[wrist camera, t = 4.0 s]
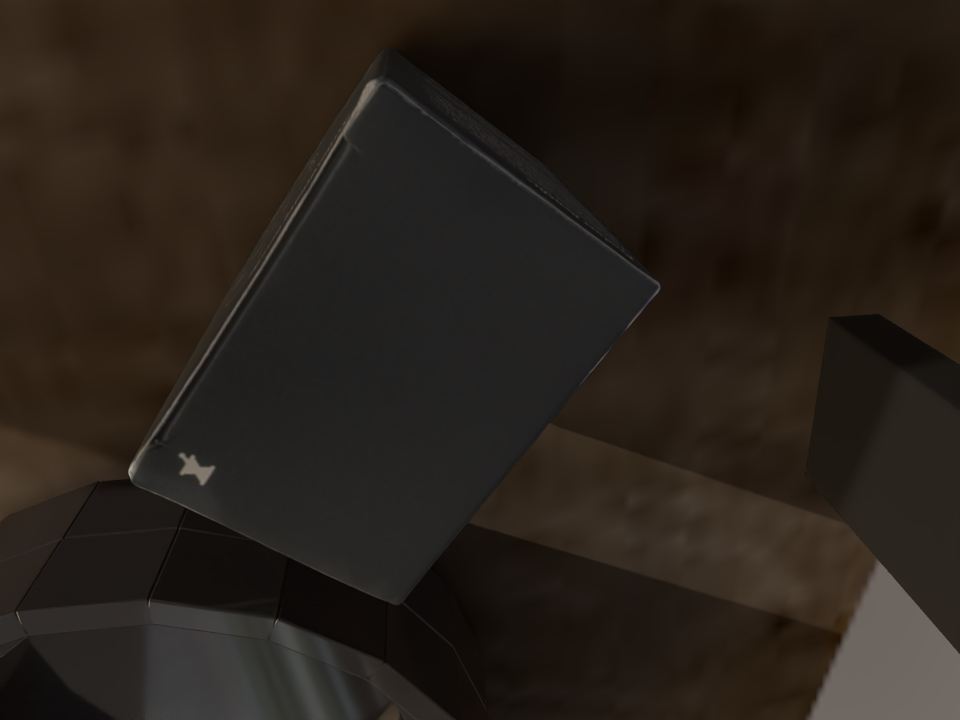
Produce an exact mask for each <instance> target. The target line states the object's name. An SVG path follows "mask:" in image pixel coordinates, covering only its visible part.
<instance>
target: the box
mask: <svg viewBox="0 0 960 720" xmlns="http://www.w3.org/2000/svg"><path fill="white" fill-rule="evenodd" d="M659 290H660V284H659V282H658V281H657V280H656V279H655V277H654V276H653V275H652V274H651V273H650V272H649V271H648V270H647V269H646V268H645V267H644V266H643V265H642V264H641V263H640V262H639V261H638V260H637V259H636V257H635V256H634V255H633V254H632V253H631V252H630V251H629V250H628V249H627V248H626V247H625V246H624V245H623V244H622V243H621V242H620V241H619V240H618V239H617V238H616V237H615V236H614V234H613V233H612V232H611V231H609V230H608V228H607V227H606V226H605V225H604V224H603V223H602V222H601V221H600V220H599V219H598V218H597V217H596V216H595V215H593V213H592V212H591V211H590V210H589V209H588V208H587V207H586V206H585V205H584V204H583V203H582V202H581V201H580V200H579V199H578V198H577V197H576V196H575V195H574V194H573V193H572V192H571V191H570V190H569V189H568V187H567V186H565V185H564V184H563V183H562V181H561V180H560V179H559V178H558V177H557V176H556V175H555V174H554V173H553V172H552V171H551V170H550V169H549V168H548V167H546V165H544V164H543V163H542V162H540V161H539V160H538V159H536V158H535V157H534V156H532V155H531V154H530V153H528V152H527V151H526V150H524V149H523V148H522V147H521V146H519V145H518V144H517V143H515V142H514V141H513V140H511V139H510V138H509V137H508V136H506V135H505V134H504V133H502V132H501V131H500V130H498V129H497V128H496V127H494V126H493V125H492V124H490V123H489V122H488V121H487V120H485V119H484V118H483V117H481V116H480V115H479V114H477V113H476V112H475V111H473V110H472V109H471V108H470V107H468V106H467V105H466V104H464V103H463V102H462V101H461V100H459V99H458V98H457V97H455V96H454V95H453V94H451V93H450V92H449V91H447V90H446V89H445V88H444V87H442V86H441V85H440V84H438V83H437V82H436V81H434V80H433V79H432V78H431V77H429V76H428V75H427V74H425V73H424V72H423V71H421V70H420V69H418V68H417V67H416V66H415V65H413V64H412V63H411V62H410V61H409V60H407V59H406V58H404V57H403V56H401V55H400V54H399V53H398V52H397V50H395V49H390V48H385V49H383V50H381V51H380V52H379V54H378V55H377V57H376V58H375V60H374V61H373V62H372V64H371V65H370V67H369V69H368V70H367V72H366V73H365V75H364V76H363V78H362V79H361V80H360V82H359V83H358V85H357V86H356V88H355V89H354V91H353V92H352V94H351V95H350V97H349V98H348V100H347V101H346V103H345V104H344V106H343V107H342V109H341V111H340V112H339V113H338V115H337V116H336V117H335V119H334V121H333V123H332V124H331V126H330V127H329V129H328V131H327V132H326V134H325V135H324V137H323V138H322V140H321V142H320V143H319V145H318V146H317V148H316V149H315V151H314V152H313V154H312V156H311V157H310V159H309V161H308V162H307V164H306V165H305V167H304V169H303V170H302V172H301V173H300V175H299V177H298V178H297V180H296V181H295V183H294V184H293V186H292V187H291V189H290V191H289V192H288V194H287V196H286V197H285V199H284V200H283V202H282V203H281V205H280V207H279V208H278V210H277V212H276V213H275V215H274V217H273V218H272V220H271V221H270V223H269V225H268V226H267V228H266V230H265V231H264V233H263V234H262V236H261V238H260V239H259V241H258V242H257V244H256V246H255V247H254V249H253V251H252V252H251V254H250V256H249V257H248V259H247V261H246V262H245V264H244V266H243V267H242V269H241V271H240V272H239V274H238V275H237V277H236V278H235V280H234V282H233V284H232V285H231V287H230V289H229V291H228V292H227V294H226V296H225V297H224V299H223V300H222V303H221V305H220V306H219V308H218V310H217V311H216V313H215V315H214V316H213V319H212V321H211V322H210V324H209V326H208V328H207V329H206V331H205V333H204V335H203V336H202V338H201V339H200V341H199V342H198V344H197V347H196V349H195V351H194V352H193V354H192V356H191V357H190V358H189V361H188V363H187V364H186V366H185V368H184V370H183V371H182V373H181V374H180V376H179V379H178V381H177V382H176V384H175V386H174V387H173V389H172V391H171V392H170V394H169V396H168V398H167V400H166V401H165V403H164V405H163V406H162V408H161V410H160V411H159V413H158V415H157V416H156V419H155V420H154V422H153V423H152V425H151V427H150V429H149V431H148V433H147V434H146V436H145V438H144V440H143V442H142V444H141V446H140V448H139V450H138V451H137V453H136V455H135V458H134V459H133V461H132V462H131V465H130V467H129V470H128V474H129V476H130V478H131V482H132V483H133V484H134V485H136V486H138V487H140V488H143V489H145V490H148V491H150V492H152V493H154V494H157V495H159V496H162V497H164V498H166V499H169V500H171V501H173V502H175V503H178V504H180V505H182V506H184V507H186V508H188V509H190V510H192V511H194V512H196V513H199V514H201V515H203V516H205V517H207V518H209V519H211V520H214V521H216V522H218V523H220V524H222V525H224V526H226V527H228V528H230V529H232V530H234V531H236V532H238V533H240V534H242V535H244V536H247V537H249V538H251V539H253V540H255V541H257V542H259V543H261V544H263V545H265V546H267V547H269V548H271V549H273V550H275V551H277V552H279V553H282V554H284V555H286V556H288V557H290V558H292V559H294V560H296V561H298V562H300V563H302V564H304V565H307V566H309V567H311V568H313V569H315V570H317V571H319V572H321V573H323V574H325V575H327V576H330V577H332V578H334V579H336V580H339V581H341V582H343V583H346V584H348V585H350V586H352V587H354V588H356V589H359V590H361V591H363V592H365V593H368V594H370V595H372V596H375V597H377V598H380V599H382V600H385V601H387V602H390V603H392V604H395V605H399V604H401V603H402V602H403V601H404V600H405V599H406V597H407V596H408V595H409V594H410V592H411V591H412V590H413V589H414V587H415V586H416V585H417V584H418V583H419V581H420V580H421V579H422V578H423V576H424V575H425V574H426V573H427V571H428V570H429V569H430V568H431V566H432V565H433V564H434V563H435V561H436V560H437V559H438V558H439V557H440V555H441V554H442V553H443V552H444V550H445V549H446V548H447V547H448V546H449V544H450V543H451V542H452V541H453V540H454V539H455V537H456V536H457V535H458V533H459V532H460V531H461V530H462V529H463V527H464V526H465V525H466V524H467V522H468V521H469V520H470V519H471V518H472V516H473V515H474V514H475V513H476V511H477V510H478V509H479V508H480V507H481V505H482V504H483V503H484V502H485V501H486V499H487V498H488V497H489V496H490V495H491V493H492V492H493V491H494V490H495V489H496V487H497V486H498V485H499V483H500V482H501V481H502V480H503V479H504V477H505V476H506V475H507V474H508V473H509V471H510V470H511V469H512V468H513V467H514V466H515V464H516V463H517V462H518V461H519V460H520V458H521V457H522V456H523V455H524V453H525V452H526V451H527V450H528V449H529V447H530V446H531V445H532V444H533V443H534V441H535V440H536V439H537V438H538V436H539V435H540V434H541V433H542V431H543V430H544V429H545V428H546V426H547V425H548V424H549V423H550V422H551V420H552V419H553V418H554V417H555V416H556V414H557V413H558V412H559V411H560V410H561V409H562V407H563V406H564V405H565V404H566V402H567V401H568V400H569V399H570V397H571V396H572V395H573V394H574V392H575V391H576V390H577V389H578V388H579V387H580V386H581V384H582V383H583V382H584V381H585V379H586V378H587V377H588V376H589V374H590V373H591V372H592V371H593V370H594V368H595V367H596V366H597V365H598V364H599V362H600V361H601V360H602V359H603V358H604V356H605V355H606V354H607V353H608V352H609V350H610V349H611V348H612V346H613V345H614V344H615V342H616V341H617V340H618V339H619V338H620V337H621V335H622V334H623V333H624V332H625V331H626V330H627V328H628V327H629V326H630V325H631V324H632V323H633V321H634V320H635V319H636V318H637V317H638V315H639V314H640V313H641V312H642V311H643V309H644V308H645V307H646V306H647V304H648V303H649V302H650V301H651V300H652V299H653V298H654V297H655V295H656V294H657V293H658V292H659Z"/></svg>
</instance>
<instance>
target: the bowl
mask: <svg viewBox="0 0 960 720" xmlns="http://www.w3.org/2000/svg"><path fill="white" fill-rule="evenodd" d="M0 720H489V718H488V710H487V701H486V693H485V685H484V677H483V669H482V660H481V652H480V647H479V645H478V643H477V641H476V639H475V637H474V635H473V633H472V631H471V629H470V627H469V625H468V623H467V621H466V619H465V617H464V615H463V613H462V611H461V609H460V607H459V605H458V603H457V601H456V599H455V597H454V595H453V593H452V591H451V589H450V587H449V586H448V585H447V584H446V583H445V582H444V581H443V580H442V579H441V578H440V577H439V576H438V575H436V574H435V573H434V572H433V571H432V570H431V569H429V570H428V571H427V573H426V574H425V575H424V576H423V578H422V579H421V580H420V581H419V583H418V584H417V585H416V586H415V587H414V589H413V590H412V591H411V592H410V594H409V595H408V596H407V597H406V599H405V600H404V601H403V602H402V603H401V604H399V605H395V604H392V603H390V602H387V601H385V600H382V599H380V598H377V597H375V596H372V595H370V594H368V593H365V592H363V591H361V590H359V589H356V588H354V587H352V586H350V585H348V584H346V583H343V582H341V581H339V580H336V579H334V578H332V577H330V576H327V575H325V574H323V573H321V572H319V571H317V570H315V569H313V568H311V567H309V566H307V565H304V564H302V563H300V562H298V561H296V560H294V559H292V558H290V557H288V556H286V555H284V554H282V553H279V552H277V551H275V550H273V549H271V548H269V547H267V546H265V545H263V544H261V543H259V542H257V541H255V540H253V539H251V538H249V537H247V536H244V535H242V534H240V533H238V532H236V531H234V530H232V529H230V528H228V527H226V526H224V525H222V524H220V523H218V522H216V521H214V520H211V519H209V518H207V517H205V516H203V515H201V514H199V513H196V512H194V511H192V510H190V509H188V508H186V507H184V506H182V505H180V504H178V503H175V502H173V501H171V500H169V499H166V498H164V497H162V496H159V495H157V494H154V493H152V492H150V491H148V490H145V489H143V488H140V487H138V486H136V485H134V484H133V483H132V482H131V479H123V480H111V481H102V482H99V481H98V482H95V483H92V484H90V485H87V486H85V487H82V488H79V489H77V490H74V491H71V492H69V493H66V494H63V495H61V496H58V497H56V498H53V499H50V500H48V501H45V502H42V503H40V504H37V505H34V506H32V507H29V508H27V509H24V510H21V511H19V512H16V513H13V514H11V515H9V516H8V517H6V518H5V519H3V520H2V521H1V522H0Z"/></svg>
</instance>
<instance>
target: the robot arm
mask: <svg viewBox="0 0 960 720" xmlns="http://www.w3.org/2000/svg"><path fill="white" fill-rule="evenodd" d="M805 476H806V477H807V478H808V479H809V480H810V482H811V483H812V484H813V485H814V486H815V487H816V488H817V490H818V491H819V492H820V493H821V494H822V495H823V497H824V498H825V499H826V500H827V501H828V502H829V503H830V505H831V506H832V507H833V508H834V509H835V510H836V512H837V513H838V514H839V515H840V516H841V517H842V518H843V520H844V521H845V522H846V523H847V524H848V525H849V527H850V528H851V529H852V530H853V531H854V532H855V533H856V535H857V536H858V537H859V538H860V539H861V540H862V542H863V543H864V544H865V545H866V546H867V547H868V548H869V550H870V551H871V552H872V553H873V554H874V555H875V557H876V558H877V559H878V560H879V561H880V562H881V564H882V565H883V566H884V567H885V568H886V569H887V570H888V572H889V573H890V574H891V575H892V576H893V577H894V578H895V580H896V581H897V582H898V583H899V584H900V585H901V587H902V588H903V589H904V590H905V591H906V592H907V593H908V595H909V596H910V597H911V598H912V599H913V600H914V602H915V603H916V604H917V605H918V606H919V607H920V609H922V611H923V612H924V613H925V614H926V615H927V617H928V618H929V619H930V620H931V621H932V622H933V624H934V625H935V626H936V627H937V628H938V629H939V630H940V632H941V633H942V634H943V635H944V636H945V637H946V638H947V640H948V641H949V642H950V643H951V644H952V645H953V647H954V648H955V649H956V650H957V651H958V652H959V654H960V365H959V364H957V363H956V362H954V361H952V360H951V359H949V358H948V357H946V356H944V355H943V354H941V353H940V352H938V351H937V350H935V349H933V348H932V347H930V346H929V345H927V344H925V343H924V342H922V341H921V340H919V339H918V338H916V337H914V336H913V335H911V334H910V333H908V332H906V331H905V330H903V329H902V328H900V327H898V326H897V325H895V324H894V323H892V322H891V321H889V320H887V319H886V318H884V317H883V316H881V315H879V314H872V315H858V316H844V317H830V318H829V321H828V328H827V335H826V341H825V348H824V354H823V361H822V367H821V374H820V380H819V387H818V393H817V400H816V407H815V413H814V420H813V426H812V433H811V439H810V446H809V452H808V459H807V465H806V472H805Z"/></svg>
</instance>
